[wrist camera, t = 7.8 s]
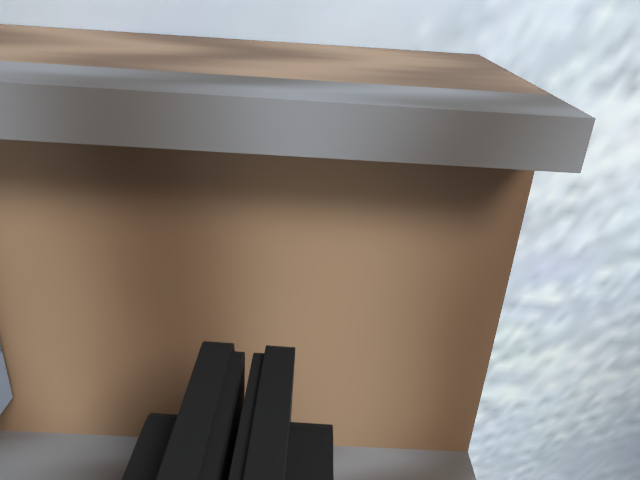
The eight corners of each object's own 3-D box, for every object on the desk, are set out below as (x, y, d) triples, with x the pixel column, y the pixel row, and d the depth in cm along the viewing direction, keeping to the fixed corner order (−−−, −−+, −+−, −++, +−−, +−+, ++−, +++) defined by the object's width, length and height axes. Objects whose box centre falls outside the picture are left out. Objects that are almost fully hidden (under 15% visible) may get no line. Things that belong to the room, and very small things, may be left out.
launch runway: (478, 54, 17) (595, 118, 10) (426, 350, 22) (479, 539, 15) (-60, 20, 17) (-353, 60, 9) (8, 329, 21) (-151, 513, 14)
